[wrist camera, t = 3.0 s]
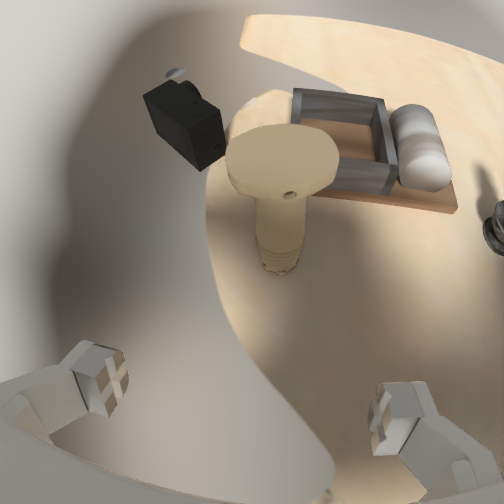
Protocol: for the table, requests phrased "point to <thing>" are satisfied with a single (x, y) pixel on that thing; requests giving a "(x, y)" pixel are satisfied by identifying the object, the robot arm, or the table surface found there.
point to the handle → (281, 184)
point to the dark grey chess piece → (495, 229)
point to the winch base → (380, 150)
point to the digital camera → (187, 122)
